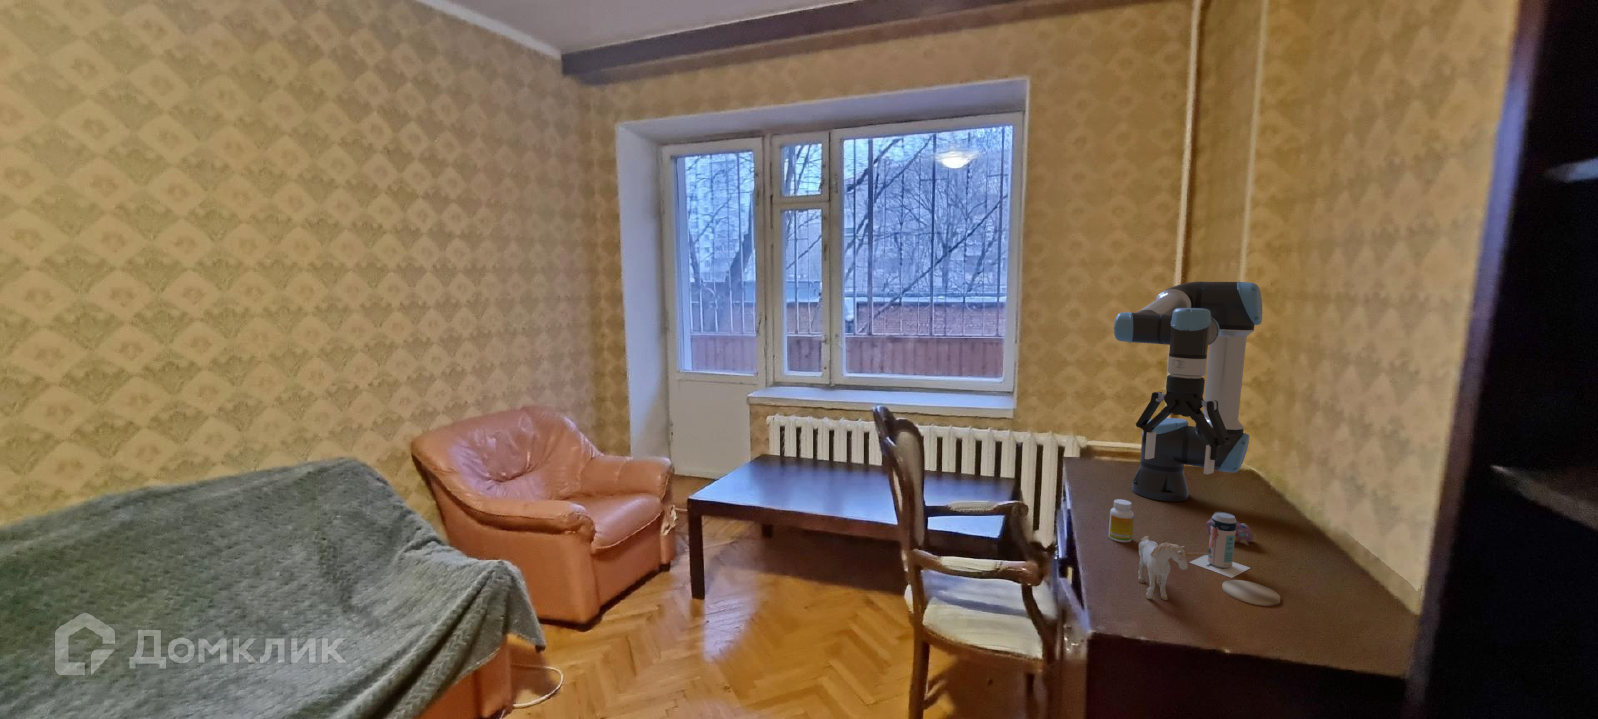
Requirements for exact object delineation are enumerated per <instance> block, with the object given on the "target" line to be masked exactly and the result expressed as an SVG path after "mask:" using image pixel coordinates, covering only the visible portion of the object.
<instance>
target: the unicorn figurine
mask: <svg viewBox="0 0 1598 719" xmlns="http://www.w3.org/2000/svg"><path fill="white" fill-rule="evenodd" d="M1185 547H1186V546H1185V545H1182V546H1180V545H1179V544H1176V543H1171V542H1164V543H1160V544H1159V543H1157V542H1156V541H1153V540H1151V539H1150V536H1149V535H1145V536H1143V537H1142V538H1141V539H1140V542H1139V543H1138V556H1139V563H1138V565H1139V570H1138V571H1137V575H1138V577H1137V582H1138V583H1141V584H1145V582H1146V581H1145V580H1146V579H1145V577H1144V567H1147V572H1148V573H1147V574H1148V579H1149V586H1148V588H1146V592H1145V598H1146V599H1148V600H1149V599H1152V597H1153V596H1154V590H1155V587H1156V586H1157V587H1159V592H1160V598H1161V599H1162V600H1164V601H1167V600H1168V598H1169V597H1168V595H1167V590H1166V584H1167V578H1168V577H1169V574H1170V572H1171V563H1170V561H1169V559H1171V558H1172V560H1173V561H1174V562H1176V563H1177V564H1178V567H1179V569H1180V570H1183V571H1186V570H1188V561H1187V558H1189V557H1202V556H1204V555H1210V554H1209V553H1208V552H1187V551H1186V550H1185V549H1184V548H1185ZM1155 580H1156V581H1155ZM1155 583H1156V584H1155Z"/></svg>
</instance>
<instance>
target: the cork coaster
mask: <svg viewBox="0 0 1598 719" xmlns="http://www.w3.org/2000/svg"><path fill="white" fill-rule="evenodd" d="M1222 582H1223V583H1222V586H1221V588H1222V591H1223V592H1224V593H1225V594H1227V595H1228V596H1230V597H1231V598H1234V599H1235V600H1238V601H1241V602H1244V603H1247V604H1251V605H1255V606H1261V607H1273V606H1277V605H1279V604H1280V603H1281V596H1280V595H1279V594H1278V593H1277V591H1275V590H1273V589H1271V588H1270V587H1267V586H1265V585H1262V584H1260V583H1256V582H1253V581H1250V580H1249V581H1248V580H1242V579H1228V580H1225V581H1222Z"/></svg>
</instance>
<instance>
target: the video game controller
mask: <svg viewBox="0 0 1598 719" xmlns="http://www.w3.org/2000/svg"><path fill="white" fill-rule="evenodd" d="M1211 520H1212V517H1211V518H1210V519H1209V520H1208V521H1207V522H1206V530H1207V532H1208V533H1209V534H1210V531H1211ZM1253 534H1254V533H1253V532H1252V530H1251V527H1250V526H1249V525H1247V524H1246V523H1245V522H1244V523H1243V522H1242V523H1241V522H1239V521H1237V524H1236V534H1235V543H1239V542H1241V541H1242V540H1245V541H1246V542H1247V543H1251V542H1253V540H1254V535H1253Z"/></svg>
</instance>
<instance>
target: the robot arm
mask: <svg viewBox="0 0 1598 719" xmlns="http://www.w3.org/2000/svg"><path fill="white" fill-rule="evenodd" d="M1262 322H1263V301H1262V292H1261V288H1260V287H1259V285H1258V284H1256V283H1254V282H1250V281H1249V282H1248V281H1247V282H1245V281H1190V282H1185V283H1181V284H1178V285H1174V286H1172V287H1169V288H1166V289H1165V290H1163V291H1161V292H1160V293H1158V295H1156V297H1155V299H1154V301H1153V302H1151V303H1150V304H1148V305H1145V306H1144V307H1143V308H1141V309H1140V310H1137V312H1131V311H1127V312H1119V313H1118V314H1117V315H1116V317H1115V320H1114V324H1113V325H1114V327H1113V333H1114V338H1115V339H1116V340H1117V341H1119V342H1123V343H1124V342H1127V343H1129V344H1130V343H1134V344H1135V343H1136V344H1138V343H1139V344H1152V345H1153V344H1155V345H1169V348H1168V349H1169V351H1168V352H1169V353H1168V361H1167V373H1168V375H1167V376H1166V382H1165V390H1166V391H1165V393H1163V392H1162V391H1154V392H1152V393H1151V397H1150V401H1149V402H1148V404H1147V406H1146V407H1145V408H1144V410H1143V412H1142V414H1141V415H1140V417H1139V419H1138V420H1137V422H1136V423H1135V426H1136V427H1137V428H1139V429H1141V430H1142V433H1141V447H1140V448H1141V449H1140V459H1139V460H1140V461H1139V462H1140V464H1139V467H1138V469H1137V471H1136V474H1135V476H1134V478H1133V480H1132V483H1131V491H1132V492H1133V493H1134V494H1136V495H1139V496H1141V497H1144V498H1146V499H1151V500H1156V501H1163V502H1183V501H1186V500H1188V499H1189V488H1188V484H1187V479H1186V476H1185V473H1184V470H1185V466H1190V467H1191V466H1192V467H1196V468H1203V474H1204V475H1211V474H1213V473H1214V471H1217V472H1225V473H1237V472H1238V471H1240V469H1241V467H1242V465H1243V463H1244V461H1245V457H1246V454H1247V451H1248V448H1249V444H1250V437H1251V436H1250V435H1249V434H1248V433H1246V432H1244V430H1245V429H1244V428H1245V426H1244V425H1243V424H1242V423H1241V422H1240V421H1239V415H1240V414H1239V413H1240V405H1241V396H1242V395H1241V393H1242V384H1243V377H1244V376H1243V375H1244V366H1245V357H1246V356H1245V354H1246V345H1247V338H1248V336H1249V335H1251V334H1252V333H1254V331H1255V326H1259V325H1261V324H1262ZM1203 376H1204V377H1205V376H1206V378H1204V377H1203ZM1163 401H1164V402H1165V404H1166V405H1165V406H1164V407H1163V408H1162V409H1161V411H1160V412H1158V413H1157V414H1156V415H1155V416H1154V414H1155V412H1156V411H1157V409H1158V407H1159V406H1160V405H1161V402H1163ZM1202 408H1203V409H1202ZM1201 409H1202V410H1201ZM1170 415H1175V416H1182V417H1185V418H1191V420H1192V421H1194V423H1195V426H1191V425H1189V422H1188V420H1187V419H1184V418H1183V419H1182V418H1178V417H1175V418H1174V417H1170ZM1153 416H1154V417H1153ZM1152 417H1153V418H1152Z"/></svg>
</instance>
